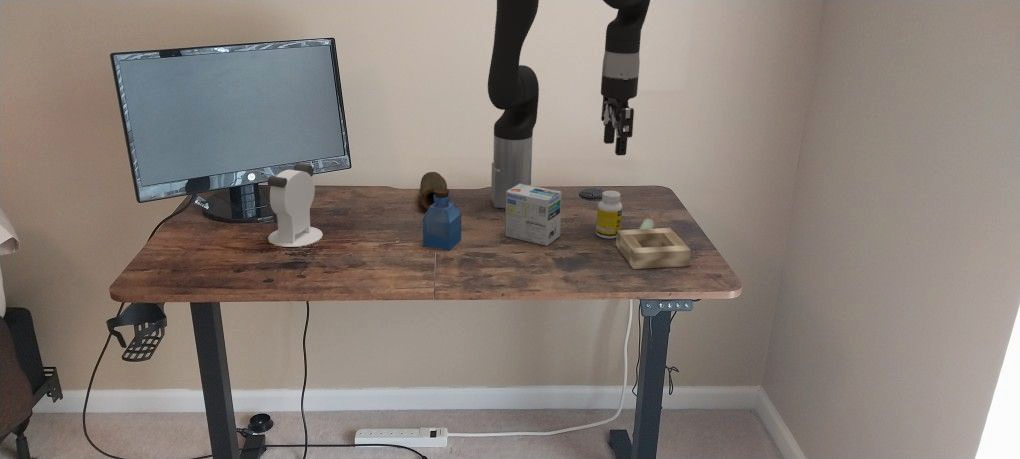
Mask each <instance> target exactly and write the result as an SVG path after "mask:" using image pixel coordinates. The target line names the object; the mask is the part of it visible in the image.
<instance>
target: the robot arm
mask: <svg viewBox="0 0 1020 459" xmlns="http://www.w3.org/2000/svg"><path fill="white" fill-rule="evenodd" d="M602 1H603V2H604V3H605V4H606V5H607V6H609V7H611V8H612V9H614V10H617V14H616V16H615V18H614V19H613V20H611V21H609V23H608V24H607V26H606V30H605V41H604V42H605V43H604V44H605V45H604V55H603V58H602V59H603V60H602V70H601V83H600V95H601V96H602V106H601V117H600V120H601V122H602V124H603V128H604V130H603V143H604V144H607V145H612V144H614V143H615V147H614V148H615V149H614V154H615V155H616V156H625V155H627V146H628V139H629V138H633V134H634V132H633V130H634V116H635V114H634V113H635V109H634V108H633V107H630V106H629V100H631V99H634V98H636V97H637V95H638V89H639V88H638V87H639V77H640V75H639V74H640V64H641V61H640V60H641V59H640V48H641V38H642V36H641V35H642V28H643V26H644V23H645V20H646V18H647V15H648V14H647V13H648V11H649V6H650V3H651V0H602ZM539 2H540V0H496V14H495V26H494V38H493V46H492V53H491V58H490V59H491V60H490V63H489V65H490V66H489V72H488V78H487V94H488V97H489V100H490V102H491V103H492V105H493V106H494V107H495V108H496V109H498V110H502V111H503V113H502V114H501V115H500V117H499V118H498V119H497V120H496V121H495V122H494V126H493V161H492V163H491V187H490V188H491V189H490V191H491V194H490V195H491V196H490V199H491V202H492V205H493V207H494V208H496V209H497V208H501V209H505V210H506V191H508V190H509V189H511V188H513V187H515V186H516V185H518V184H524V185H529V186H532V164H533V163H532V161H533V135H534V133H533V132H534V128H535V125H536V123H537V119H538V118H537V117H538V107H539V97H540V96H539V95H540V86H539V80H538V76H537V74H536V73H535V71H534V70H533V69H532V68H531V67H530V66H528V65H525V64H524V65H521V64H520V60H521V59H520V57H521V54H522V53H521V52H522V48H523V45H524V43H525V40H526V38H527V36H528V34H529V31H531V28H532V25H533V23H534V21H535V19H536V16H537V14H538V9H539Z"/></svg>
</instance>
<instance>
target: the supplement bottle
mask: <svg viewBox="0 0 1020 459" xmlns="http://www.w3.org/2000/svg"><path fill="white" fill-rule="evenodd" d="M620 201H621V193H620V192H619V191H616V190H604V191H602V192H601V200H600V201H599V202H598V204H597V215H596V224H595V226H596V228H595V235H597V236H598V237H599V238H602V239H609V240H610V239H616V237H617V230H621V226H622V218H623V216H622V215H623V205H622V203H621V202H620Z"/></svg>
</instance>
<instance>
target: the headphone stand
mask: <svg viewBox="0 0 1020 459" xmlns="http://www.w3.org/2000/svg"><path fill="white" fill-rule="evenodd" d="M314 172H315V170H314V167H313V166H312V165H308V164H302V163H301V164H300V163H295V164H294V166H293V169H286V170H283V171H281V172H279V173H278V174H277V175H276V176H274V175H270V176H269V177H267V186H269V187H270V189H269V190H270V191H269V204H270V207H271V210H272V212H273V213H274V214H273V222H274V223H275V224H277V229H276V230H274V231H273V232H271V233H270V234H269V235H268V243H269V244H271V243H272V244H274V245H277V246H282V247H299V248H303V247H302V246H305V247H308V246H307V245H309V246H311V245H310V244H312V245H314V244H313V243H315V242H317V241H318V242H320V241H321V240H322V239H321V238H323V237H322V236H323V232H322V230H320V229H319V228H316V227H313V226H311V213H310V212H311V210H310V208H311V206H312V205H313V203H314V198H315V193H316V189H315V188H316V186H315V183H314V180H313V178H312V177H313V176H314ZM320 239H321V240H320ZM319 240H320V241H319ZM318 242H317V243H318ZM272 244H271V245H272ZM315 244H316V243H315ZM274 245H273V246H274ZM277 246H276V247H277ZM282 247H281V248H282Z"/></svg>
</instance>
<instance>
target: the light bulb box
mask: <svg viewBox="0 0 1020 459" xmlns="http://www.w3.org/2000/svg"><path fill="white" fill-rule="evenodd" d="M562 193H563V192H562V190H555V189H548V188H545V187H544V188H543V187H540V186H539V187H538V186H534V185H533V186H532V185H531V186H529V185H524V184H518V185H516V186H515V187H513V188H511V189H509V190H508V191H506V209H505V226H504V227H505V232H504V233H505V237H509V238H511V239H517V240H520V241H525V242H528V243H533V244H537V245H542V246H546V247H547V246H548V245H550V244H552V243H553V242H554V241H555V240H557V239H558V238H559V237H560V236H561V218H562V215H561V214H562V196H563V195H562Z"/></svg>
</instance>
